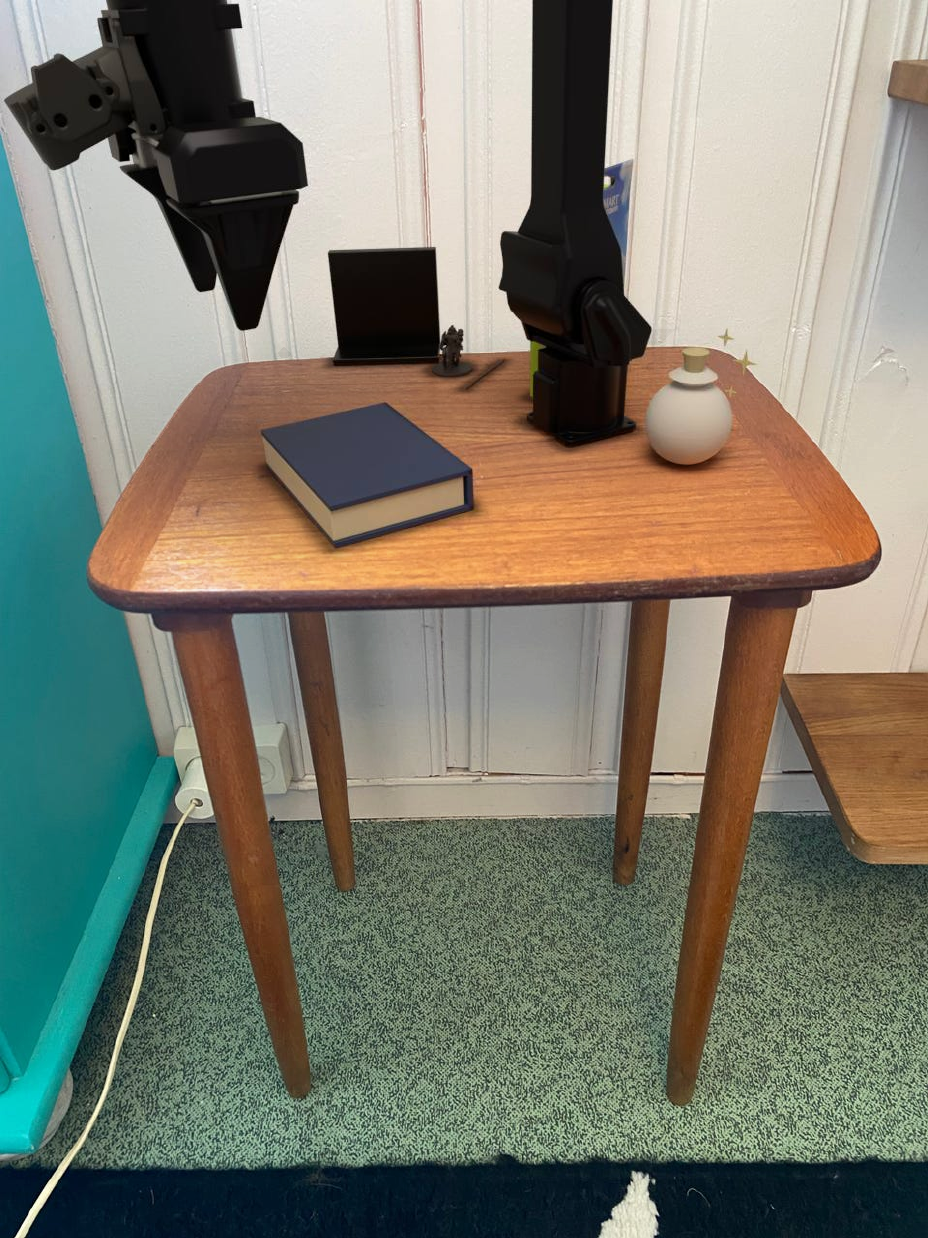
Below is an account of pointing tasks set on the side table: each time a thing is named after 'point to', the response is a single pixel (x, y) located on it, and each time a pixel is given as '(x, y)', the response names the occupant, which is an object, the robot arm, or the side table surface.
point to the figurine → (454, 356)
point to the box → (619, 216)
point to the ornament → (690, 411)
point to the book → (367, 473)
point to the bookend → (385, 305)
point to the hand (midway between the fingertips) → (225, 308)
